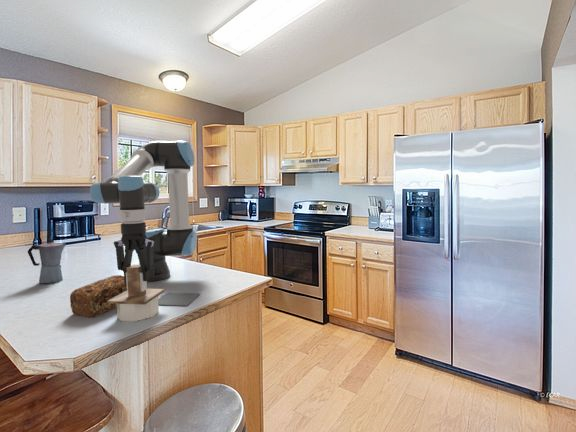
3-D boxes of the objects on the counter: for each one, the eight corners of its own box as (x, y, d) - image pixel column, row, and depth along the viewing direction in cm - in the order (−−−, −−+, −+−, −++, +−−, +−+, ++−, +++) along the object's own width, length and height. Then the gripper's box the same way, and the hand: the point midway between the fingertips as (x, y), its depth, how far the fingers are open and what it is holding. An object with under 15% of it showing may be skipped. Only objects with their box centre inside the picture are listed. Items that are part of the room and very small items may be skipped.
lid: (107, 303, 103) (104, 270, 102) (130, 290, 116) (129, 261, 115) (145, 304, 102) (143, 271, 101) (164, 291, 115) (163, 261, 114)
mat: (150, 305, 117) (150, 304, 117) (167, 293, 130) (167, 292, 130) (187, 306, 116) (187, 305, 116) (200, 294, 129) (200, 293, 129)
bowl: (110, 320, 104) (109, 302, 104) (132, 306, 116) (131, 290, 116) (145, 321, 103) (144, 303, 102) (163, 307, 115) (162, 291, 114)
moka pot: (73, 278, 154) (70, 237, 152) (37, 287, 140) (33, 242, 138) (61, 276, 158) (58, 236, 156) (25, 285, 144) (21, 241, 142)
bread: (116, 297, 127) (114, 272, 126) (136, 300, 123) (135, 275, 122) (69, 315, 110) (67, 286, 109) (91, 319, 106) (88, 290, 105)
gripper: (101, 223, 104) (106, 293, 106) (151, 223, 102) (155, 294, 104) (116, 220, 111) (120, 286, 113) (163, 220, 109) (166, 287, 112)
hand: (137, 289), depth 109 cm, fingers open, 4 cm apart
